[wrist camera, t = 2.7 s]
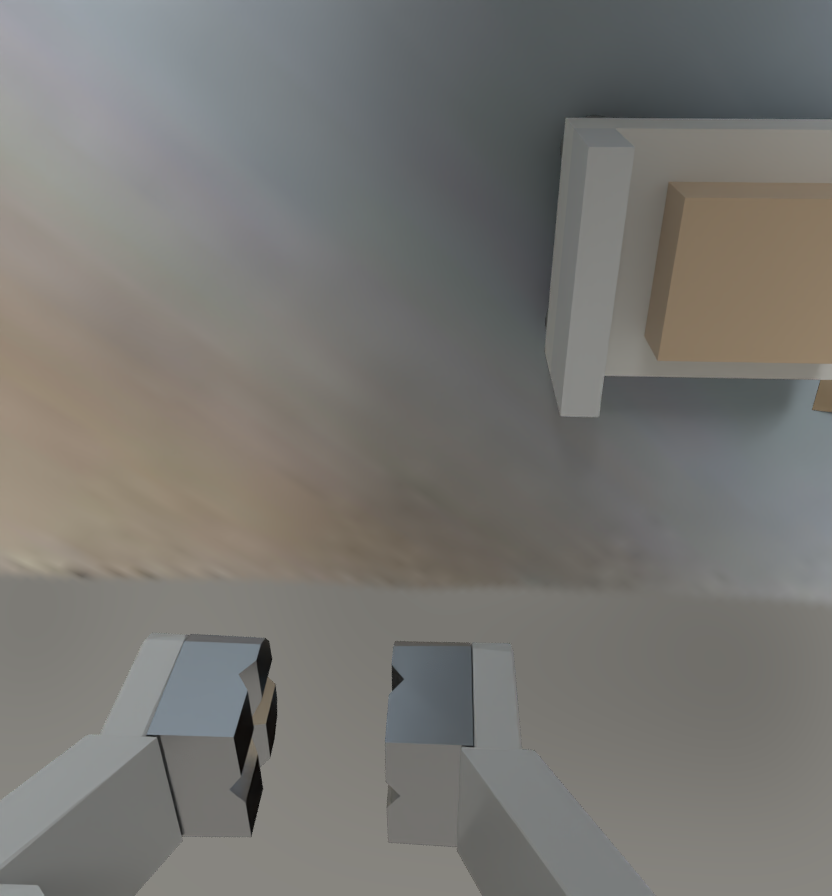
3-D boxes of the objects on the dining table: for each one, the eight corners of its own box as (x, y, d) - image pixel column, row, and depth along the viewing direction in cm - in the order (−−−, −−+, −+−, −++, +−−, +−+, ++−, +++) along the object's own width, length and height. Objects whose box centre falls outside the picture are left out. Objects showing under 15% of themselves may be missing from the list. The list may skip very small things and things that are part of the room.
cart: (560, 110, 26) (588, 147, 21) (867, 112, 26) (980, 149, 20) (540, 335, 30) (560, 416, 25) (805, 339, 30) (886, 422, 24)
